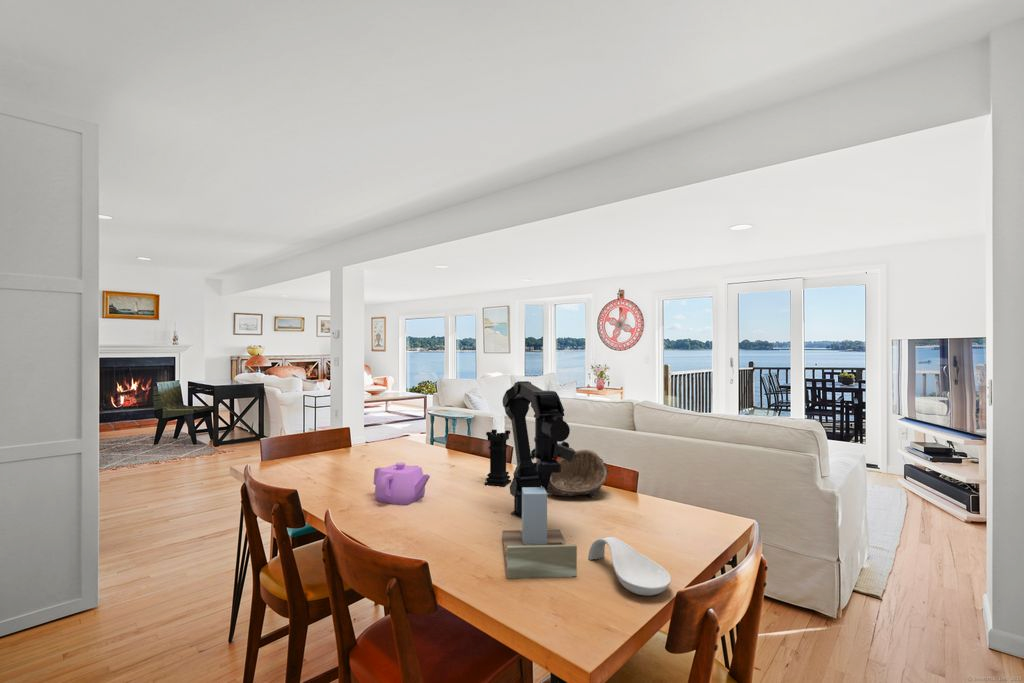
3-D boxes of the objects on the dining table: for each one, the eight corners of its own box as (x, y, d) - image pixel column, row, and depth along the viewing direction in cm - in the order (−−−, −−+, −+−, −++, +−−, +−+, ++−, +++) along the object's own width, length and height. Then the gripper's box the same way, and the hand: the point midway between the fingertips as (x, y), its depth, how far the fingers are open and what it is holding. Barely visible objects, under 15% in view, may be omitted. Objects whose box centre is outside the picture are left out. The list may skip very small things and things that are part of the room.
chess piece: (511, 481, 195) (511, 430, 195) (504, 487, 187) (504, 433, 187) (492, 479, 197) (492, 429, 197) (484, 485, 190) (484, 432, 190)
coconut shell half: (552, 505, 167) (619, 480, 172) (534, 464, 176) (599, 442, 181) (550, 520, 179) (613, 496, 184) (534, 481, 188) (594, 459, 193)
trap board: (502, 537, 138) (502, 512, 138) (559, 536, 139) (559, 511, 139) (507, 578, 114) (507, 547, 114) (576, 576, 115) (576, 546, 115)
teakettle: (371, 494, 177) (371, 460, 177) (418, 489, 184) (419, 456, 184) (379, 509, 161) (379, 471, 161) (430, 503, 168) (431, 466, 168)
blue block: (521, 535, 134) (521, 487, 134) (543, 535, 135) (544, 487, 135) (523, 544, 128) (523, 494, 128) (546, 544, 129) (547, 493, 129)
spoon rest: (682, 596, 107) (682, 562, 107) (640, 609, 102) (640, 573, 102) (613, 554, 128) (613, 526, 128) (574, 563, 123) (574, 534, 123)
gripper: (579, 441, 134) (579, 499, 133) (567, 429, 152) (567, 480, 152) (538, 441, 133) (538, 500, 133) (531, 429, 151) (530, 481, 151)
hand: (545, 490), depth 142 cm, fingers closed
